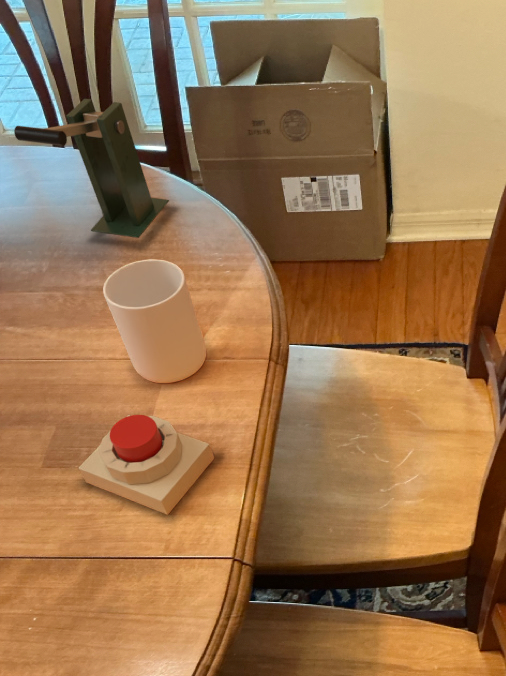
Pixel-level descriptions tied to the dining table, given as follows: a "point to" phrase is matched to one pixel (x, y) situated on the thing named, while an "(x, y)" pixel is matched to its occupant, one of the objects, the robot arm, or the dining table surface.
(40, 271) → the dining table surface
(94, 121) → the bolt lever
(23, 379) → the dining table surface
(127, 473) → the confirm box
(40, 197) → the dining table surface
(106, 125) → the lock bracket
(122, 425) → the button
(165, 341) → the cup
